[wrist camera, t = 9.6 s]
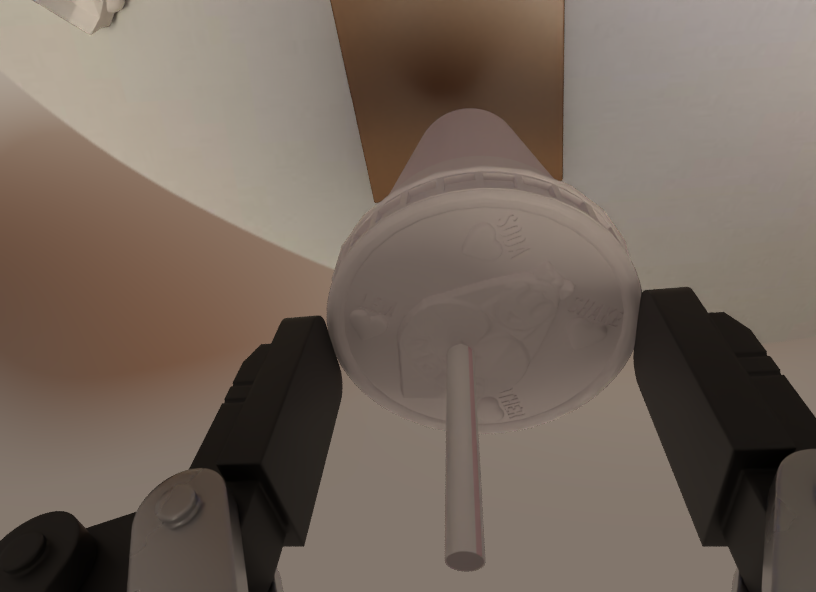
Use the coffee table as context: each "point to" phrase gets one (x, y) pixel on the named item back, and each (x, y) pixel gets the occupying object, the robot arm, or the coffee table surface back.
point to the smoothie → (481, 301)
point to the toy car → (84, 12)
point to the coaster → (451, 73)
